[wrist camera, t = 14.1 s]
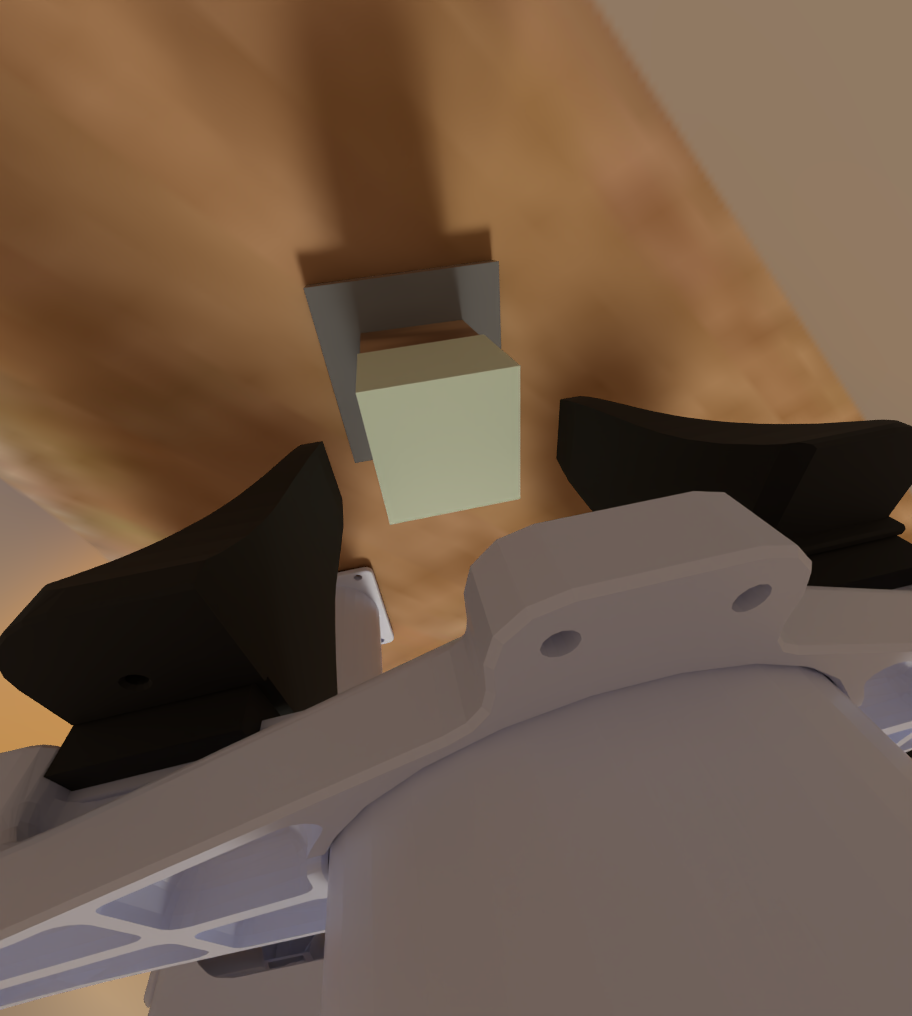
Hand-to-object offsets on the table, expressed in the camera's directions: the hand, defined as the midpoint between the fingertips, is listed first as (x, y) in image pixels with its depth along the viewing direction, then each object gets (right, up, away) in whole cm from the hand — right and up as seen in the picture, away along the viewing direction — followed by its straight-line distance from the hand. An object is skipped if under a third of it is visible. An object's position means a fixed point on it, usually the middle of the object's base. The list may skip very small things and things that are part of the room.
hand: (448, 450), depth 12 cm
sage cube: (-1, +2, +3) cm, 4 cm away
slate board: (-2, +5, +7) cm, 9 cm away
